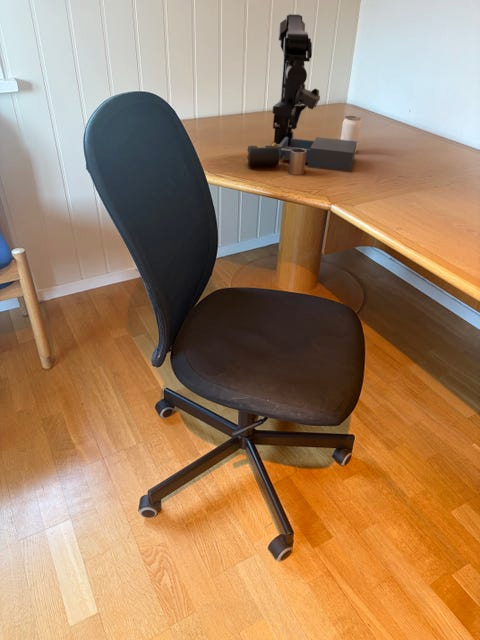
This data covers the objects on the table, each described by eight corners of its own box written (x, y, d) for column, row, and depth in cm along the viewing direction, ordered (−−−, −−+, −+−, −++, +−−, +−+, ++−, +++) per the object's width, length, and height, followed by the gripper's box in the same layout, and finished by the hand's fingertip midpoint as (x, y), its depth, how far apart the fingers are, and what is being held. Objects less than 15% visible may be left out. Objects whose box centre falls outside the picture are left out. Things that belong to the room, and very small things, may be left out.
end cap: (249, 171, 163) (250, 150, 159) (245, 164, 169) (246, 144, 165) (278, 170, 165) (280, 150, 161) (274, 163, 170) (275, 143, 166)
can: (356, 154, 181) (361, 120, 174) (338, 153, 182) (343, 119, 175) (356, 149, 186) (361, 116, 179) (339, 148, 187) (344, 115, 180)
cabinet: (308, 166, 169) (310, 147, 165) (314, 155, 179) (316, 137, 176) (350, 171, 166) (353, 152, 162) (353, 159, 176) (356, 141, 173)
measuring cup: (278, 172, 163) (279, 150, 158) (281, 168, 167) (283, 146, 163) (302, 175, 161) (304, 153, 157) (305, 170, 165) (307, 148, 161)
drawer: (266, 159, 172) (267, 145, 169) (274, 148, 182) (275, 135, 179) (314, 164, 168) (316, 150, 165) (320, 153, 178) (321, 140, 175)
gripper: (309, 88, 142) (303, 143, 151) (327, 77, 156) (321, 128, 165) (273, 84, 146) (270, 138, 155) (294, 74, 159) (290, 123, 169)
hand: (289, 131), depth 161 cm, fingers open, 9 cm apart
